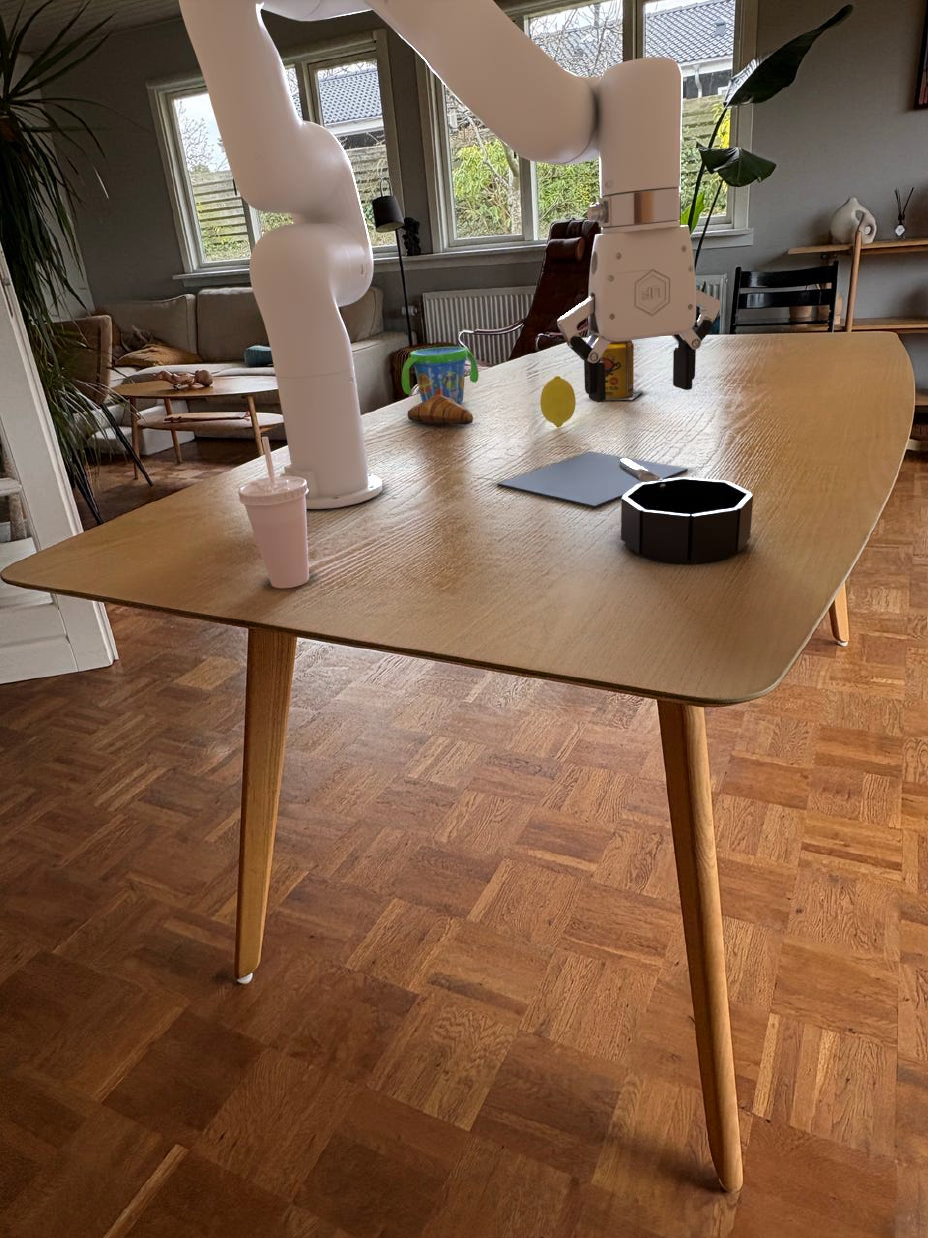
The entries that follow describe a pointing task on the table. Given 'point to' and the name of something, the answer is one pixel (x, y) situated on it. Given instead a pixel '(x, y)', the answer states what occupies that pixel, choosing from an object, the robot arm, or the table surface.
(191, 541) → the table surface
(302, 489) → the smoothie
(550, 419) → the lemon
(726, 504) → the black octagonal pot
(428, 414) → the croissant
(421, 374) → the snack cup
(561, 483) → the mat
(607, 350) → the condiment
